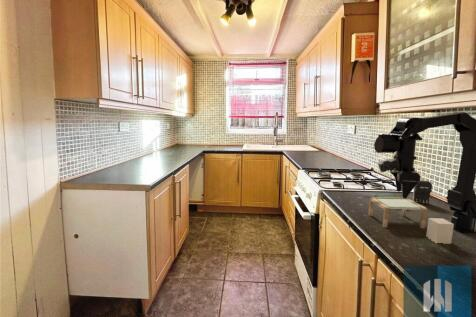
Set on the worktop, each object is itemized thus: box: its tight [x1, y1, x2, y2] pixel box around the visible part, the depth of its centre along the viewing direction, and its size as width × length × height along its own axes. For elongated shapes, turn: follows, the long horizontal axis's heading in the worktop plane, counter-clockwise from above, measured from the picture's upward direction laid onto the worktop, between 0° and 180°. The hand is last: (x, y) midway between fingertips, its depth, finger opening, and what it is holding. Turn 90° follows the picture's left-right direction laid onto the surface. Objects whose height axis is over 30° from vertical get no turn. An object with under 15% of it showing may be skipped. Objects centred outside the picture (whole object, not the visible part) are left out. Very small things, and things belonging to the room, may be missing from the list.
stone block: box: [425, 217, 454, 245], centre depth 94 cm, size 5×5×7 cm
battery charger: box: [412, 179, 433, 205], centre depth 133 cm, size 7×4×11 cm, turn 73°
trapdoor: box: [377, 199, 422, 211], centre depth 109 cm, size 10×12×1 cm
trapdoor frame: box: [367, 196, 428, 229], centre depth 110 cm, size 13×15×8 cm
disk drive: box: [373, 194, 399, 198], centre depth 134 cm, size 10×3×15 cm
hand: (401, 194), depth 100 cm, fingers open, 9 cm apart
